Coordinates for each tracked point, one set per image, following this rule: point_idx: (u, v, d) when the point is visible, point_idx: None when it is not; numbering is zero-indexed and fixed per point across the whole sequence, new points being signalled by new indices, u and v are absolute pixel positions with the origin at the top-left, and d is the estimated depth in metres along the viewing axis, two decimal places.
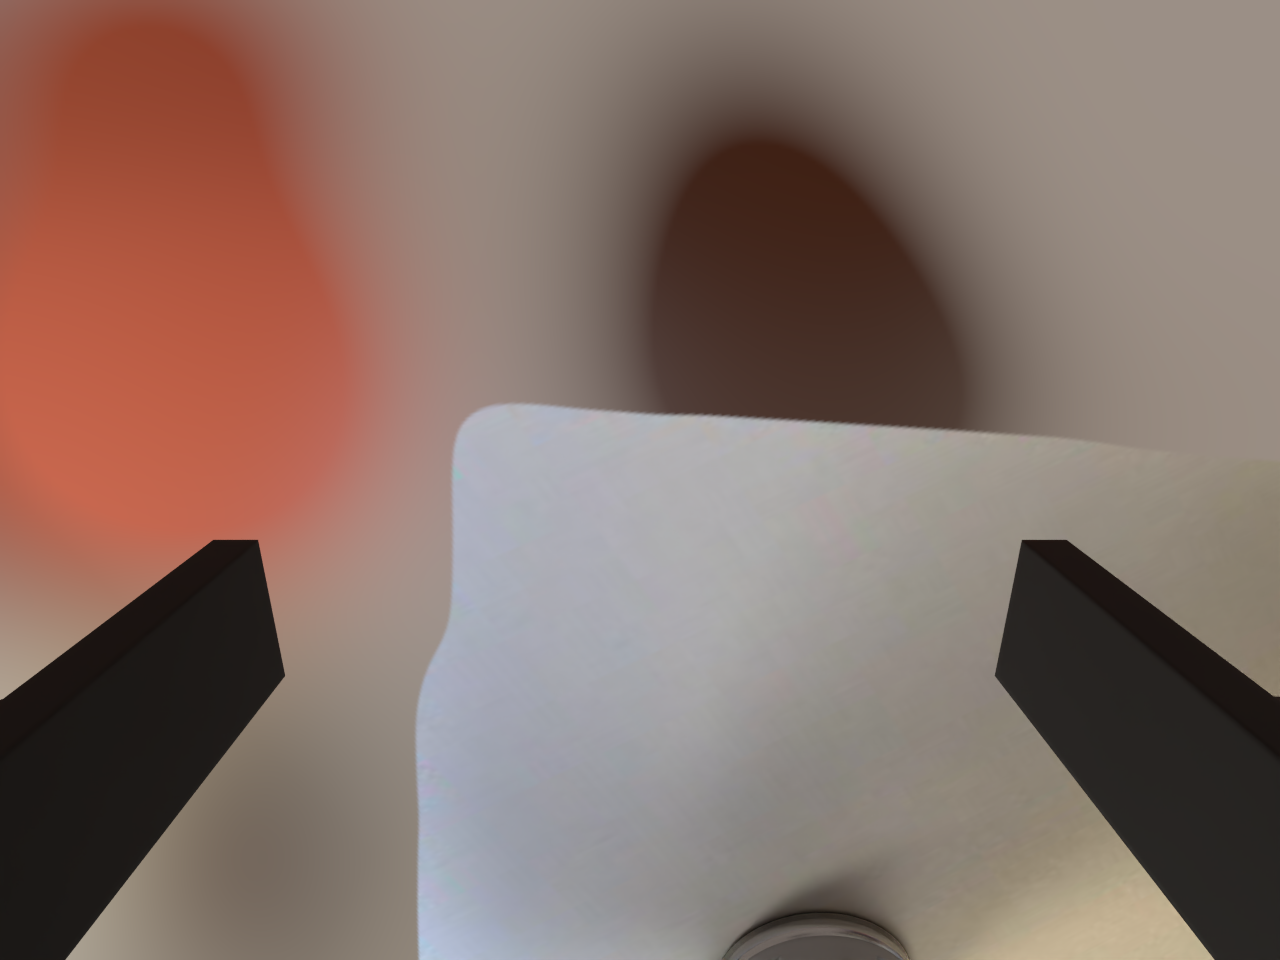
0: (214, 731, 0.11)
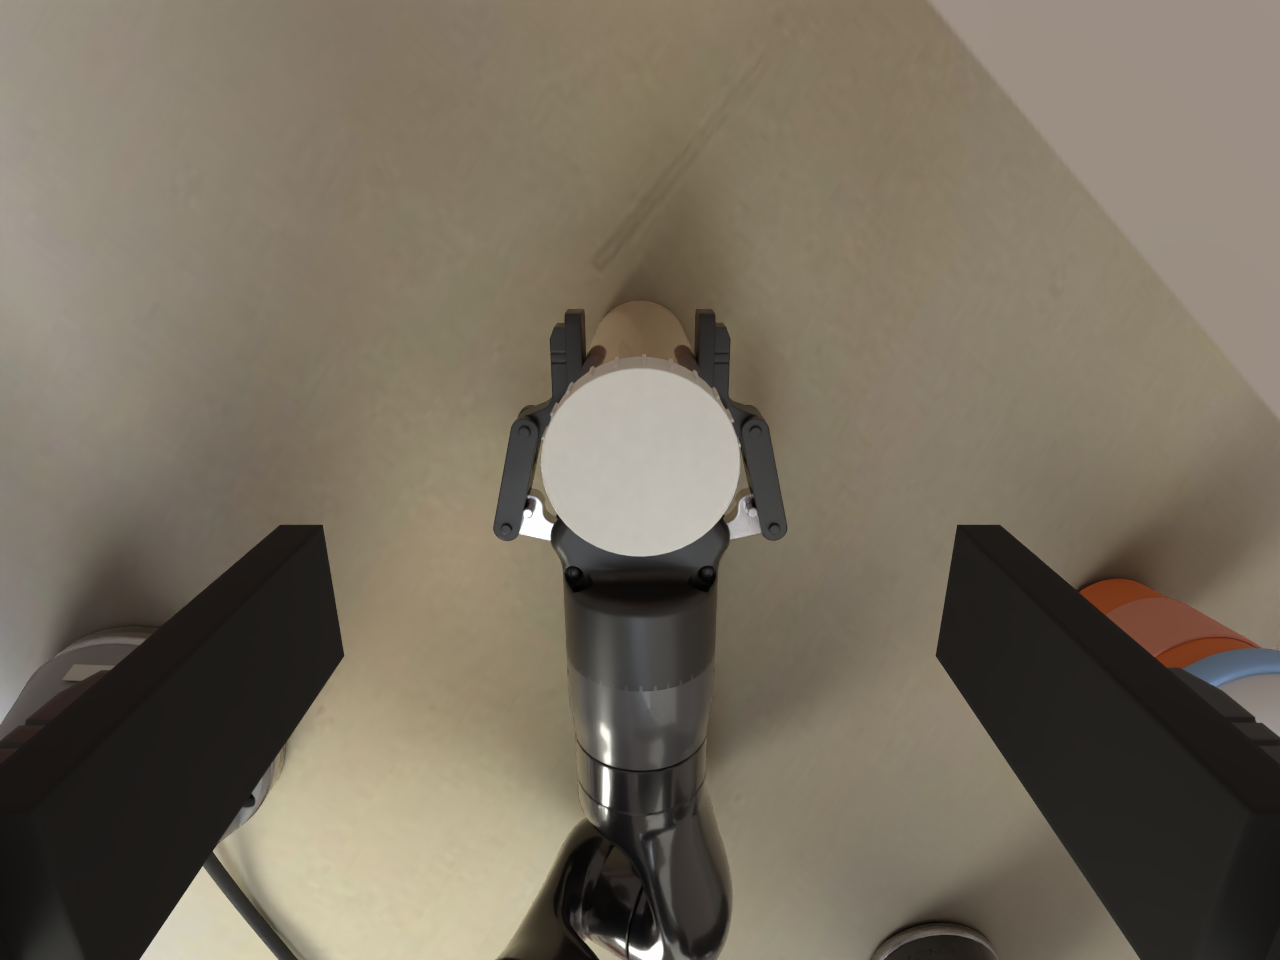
0: (288, 704, 0.11)
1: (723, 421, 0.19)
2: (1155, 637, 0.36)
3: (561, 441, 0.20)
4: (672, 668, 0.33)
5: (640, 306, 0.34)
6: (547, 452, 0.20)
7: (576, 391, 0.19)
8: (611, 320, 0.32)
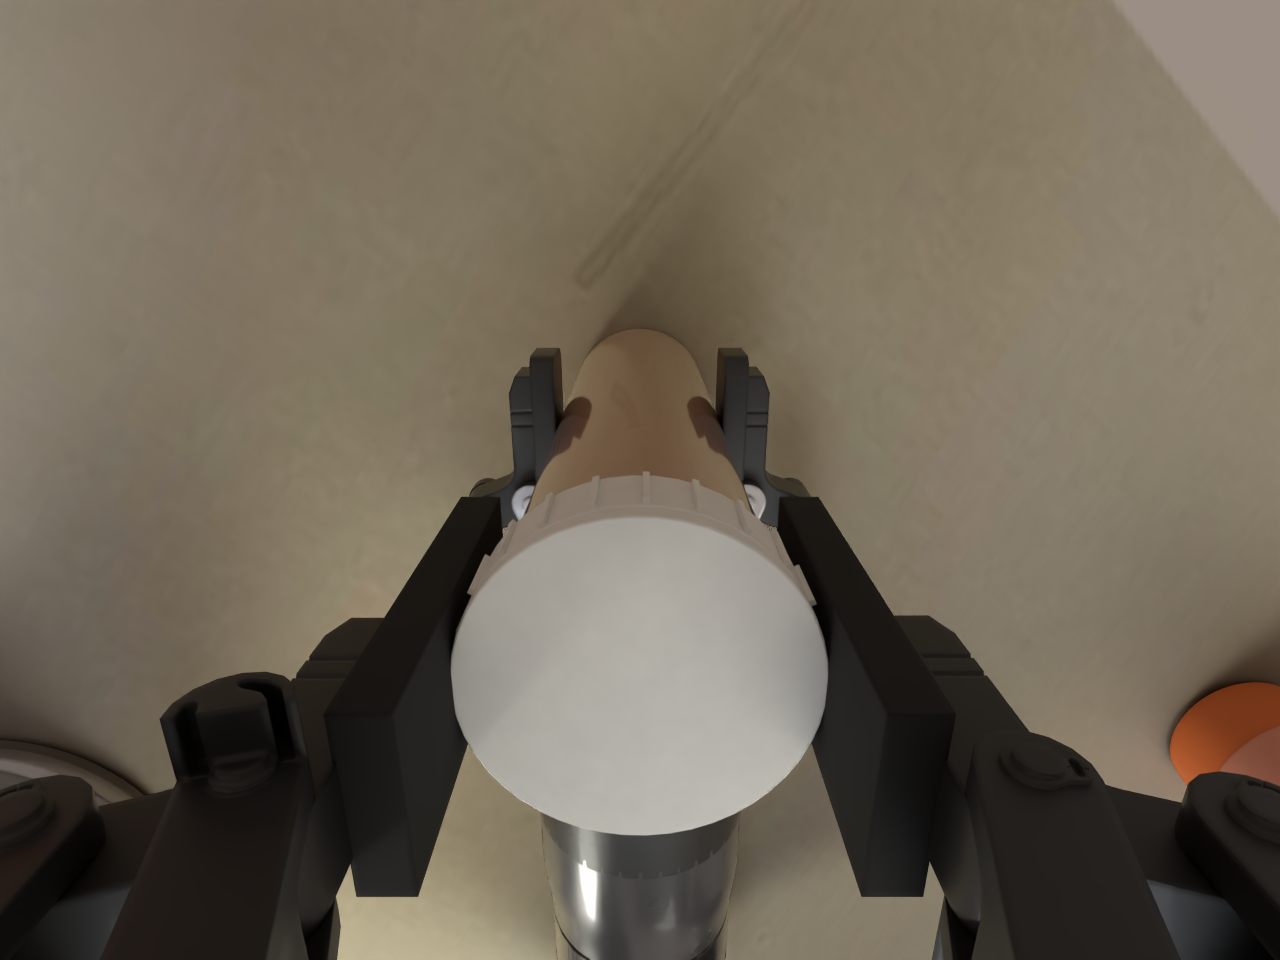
0: None
1: (799, 612, 0.10)
2: None
3: (487, 647, 0.10)
4: (684, 848, 0.24)
5: (639, 339, 0.25)
6: (461, 666, 0.10)
7: (513, 559, 0.10)
8: (598, 362, 0.23)
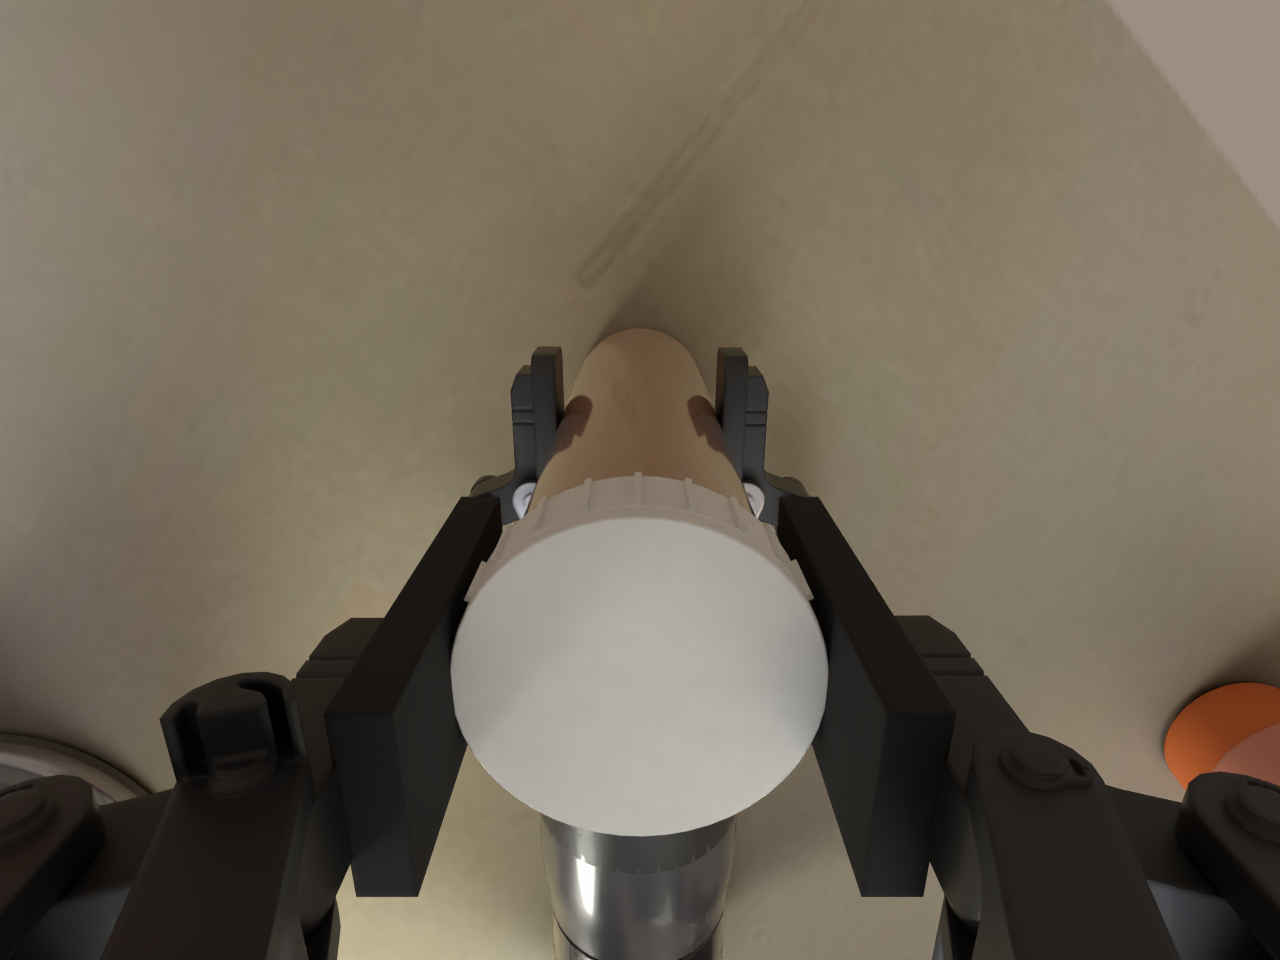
0: None
1: (526, 561, 0.10)
2: None
3: (608, 811, 0.11)
4: (681, 843, 0.24)
5: (640, 339, 0.25)
6: (631, 828, 0.11)
7: (515, 796, 0.11)
8: (599, 361, 0.23)
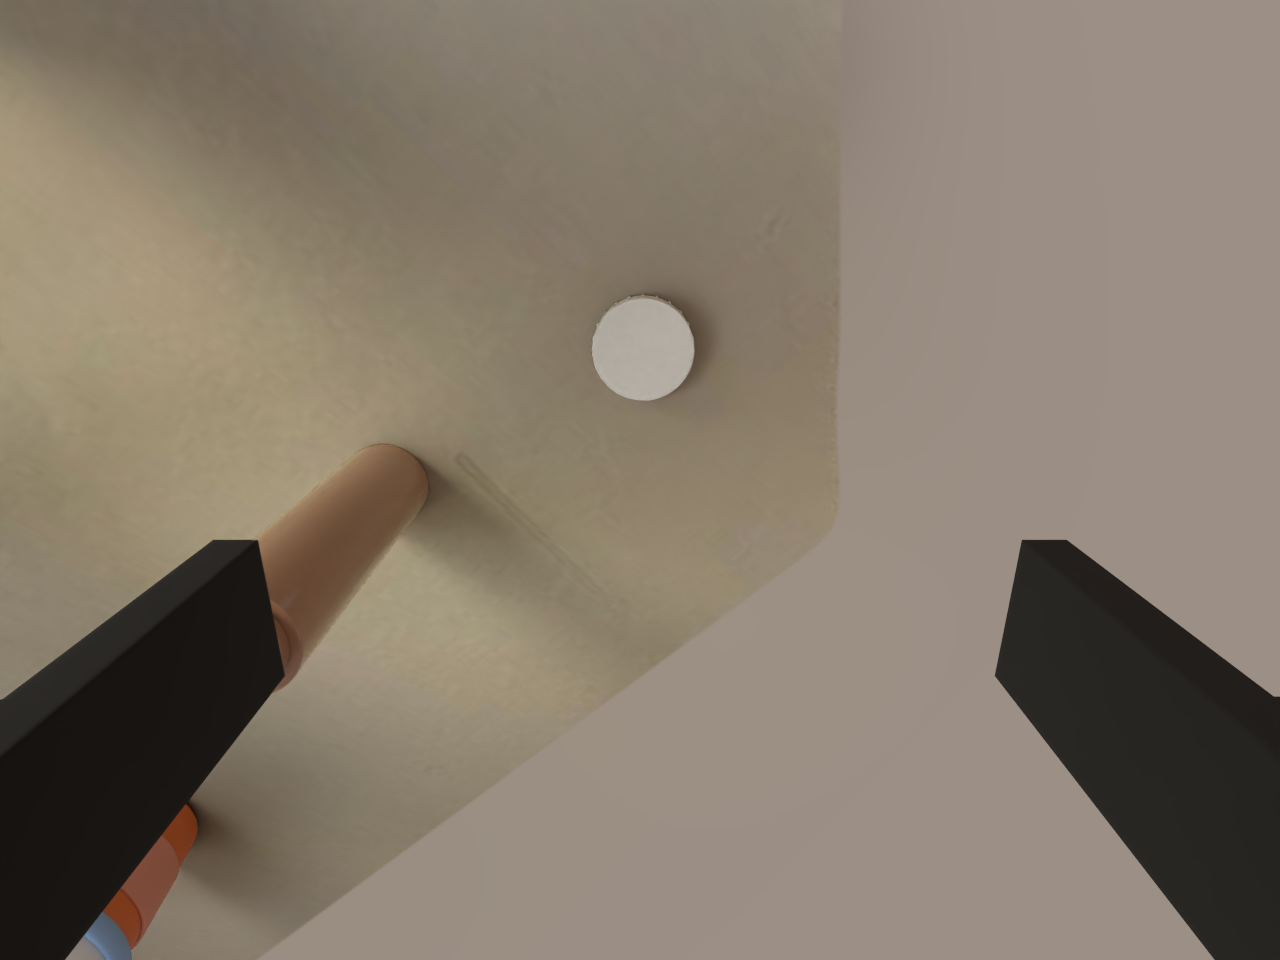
0: (214, 731, 0.11)
1: (614, 311, 0.38)
2: (136, 880, 0.45)
3: (634, 391, 0.39)
4: None
5: (415, 505, 0.41)
6: (641, 397, 0.40)
7: (608, 386, 0.39)
8: (396, 497, 0.38)
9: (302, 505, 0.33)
